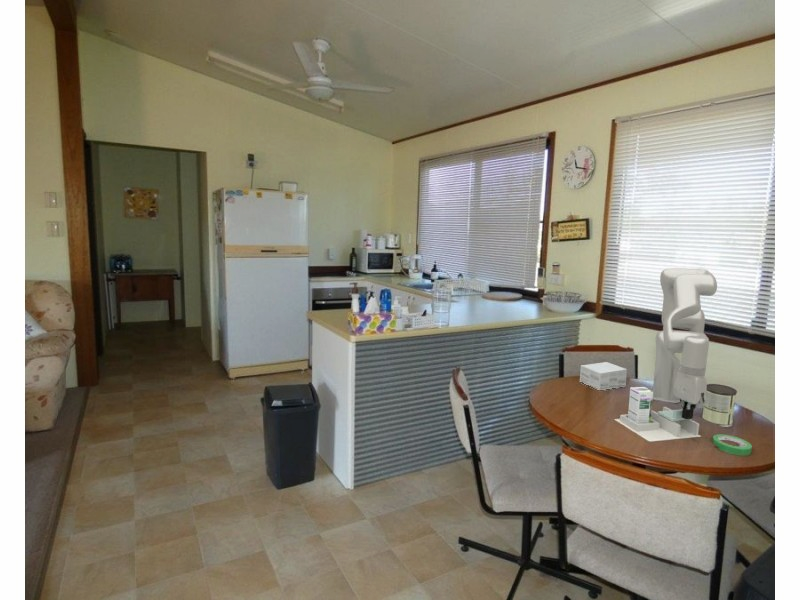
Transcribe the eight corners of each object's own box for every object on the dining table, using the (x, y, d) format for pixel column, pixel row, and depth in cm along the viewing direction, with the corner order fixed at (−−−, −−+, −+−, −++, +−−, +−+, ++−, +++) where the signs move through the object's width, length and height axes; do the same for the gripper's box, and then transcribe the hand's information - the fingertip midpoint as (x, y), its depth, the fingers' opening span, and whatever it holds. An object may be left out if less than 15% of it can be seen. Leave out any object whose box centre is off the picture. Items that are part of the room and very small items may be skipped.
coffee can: (697, 414, 185) (701, 382, 182) (727, 418, 181) (731, 385, 179) (705, 425, 175) (709, 390, 173) (736, 429, 172) (741, 394, 170)
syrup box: (636, 428, 169) (640, 391, 167) (626, 421, 175) (630, 386, 173) (650, 427, 170) (654, 391, 168) (640, 421, 176) (643, 385, 173)
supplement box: (604, 379, 229) (606, 361, 227) (625, 387, 216) (627, 369, 215) (578, 382, 223) (580, 364, 221) (598, 391, 210) (600, 372, 209)
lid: (676, 411, 173) (677, 402, 173) (691, 419, 166) (693, 409, 166) (657, 413, 171) (658, 403, 171) (672, 421, 165) (673, 411, 164)
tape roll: (752, 447, 158) (753, 440, 157) (749, 459, 149) (750, 452, 149) (714, 437, 165) (715, 431, 164) (709, 448, 157) (710, 441, 156)
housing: (661, 417, 182) (662, 404, 181) (701, 438, 163) (702, 424, 162) (613, 421, 177) (615, 408, 176) (649, 444, 159) (650, 429, 158)
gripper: (667, 364, 167) (662, 410, 170) (701, 377, 152) (695, 428, 155) (684, 363, 168) (679, 409, 171) (720, 376, 154) (713, 426, 157)
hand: (687, 418), depth 163 cm, fingers closed
